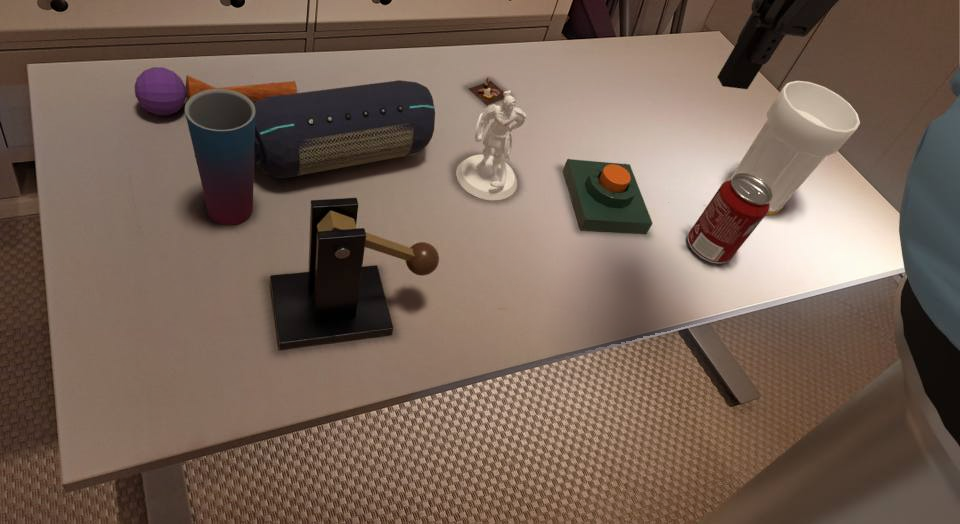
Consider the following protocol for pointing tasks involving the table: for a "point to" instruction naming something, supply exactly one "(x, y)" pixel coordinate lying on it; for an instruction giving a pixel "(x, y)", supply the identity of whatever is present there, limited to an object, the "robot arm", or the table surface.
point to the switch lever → (388, 245)
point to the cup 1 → (224, 151)
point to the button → (615, 178)
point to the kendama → (192, 90)
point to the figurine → (492, 172)
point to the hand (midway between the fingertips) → (732, 83)
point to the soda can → (730, 218)
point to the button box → (605, 200)
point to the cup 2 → (798, 138)
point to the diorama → (488, 92)
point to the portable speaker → (341, 127)
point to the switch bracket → (331, 287)
